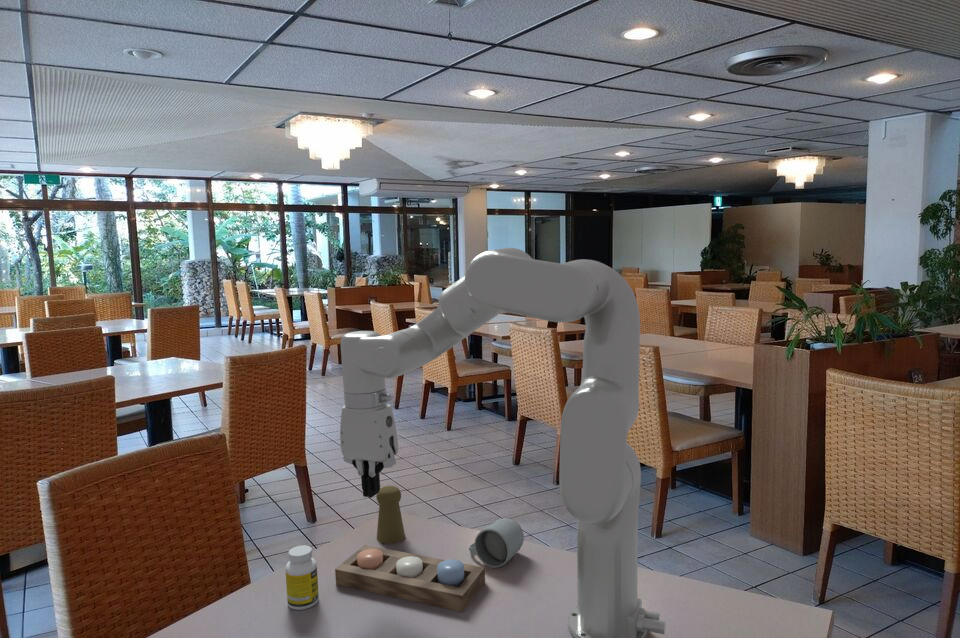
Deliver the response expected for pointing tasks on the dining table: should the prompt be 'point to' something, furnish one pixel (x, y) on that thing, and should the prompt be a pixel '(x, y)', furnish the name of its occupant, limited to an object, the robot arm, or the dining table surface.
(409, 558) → the cream button
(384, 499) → the olive game pawn
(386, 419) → the robot arm
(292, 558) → the supplement bottle
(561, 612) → the dining table surface
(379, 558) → the pink rounded dome
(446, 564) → the blue rounded knob
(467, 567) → the wooden compartment tray
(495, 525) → the ceramic mug
